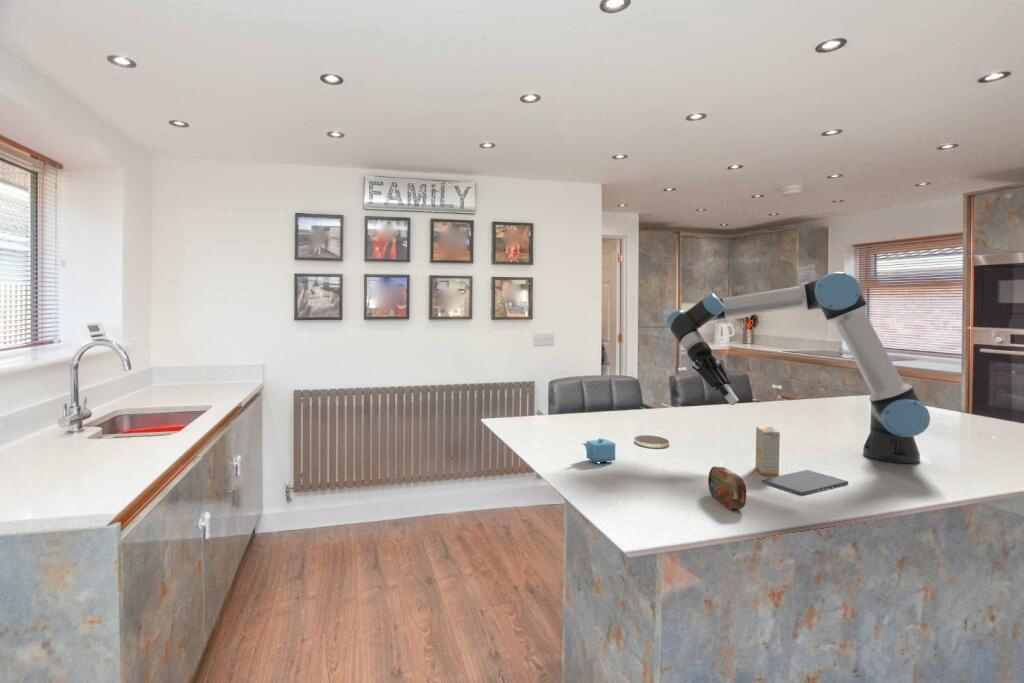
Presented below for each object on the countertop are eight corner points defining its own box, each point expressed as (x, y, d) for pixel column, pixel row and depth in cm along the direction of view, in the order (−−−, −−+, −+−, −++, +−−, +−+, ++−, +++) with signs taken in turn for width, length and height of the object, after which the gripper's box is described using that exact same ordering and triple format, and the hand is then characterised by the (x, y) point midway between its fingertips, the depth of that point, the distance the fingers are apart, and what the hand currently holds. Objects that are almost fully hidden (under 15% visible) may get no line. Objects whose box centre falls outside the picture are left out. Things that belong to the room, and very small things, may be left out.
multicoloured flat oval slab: (706, 493, 138) (707, 462, 138) (718, 493, 138) (718, 461, 138) (735, 515, 123) (736, 480, 123) (748, 514, 123) (749, 479, 123)
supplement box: (779, 476, 152) (780, 432, 151) (762, 475, 153) (763, 431, 152) (771, 468, 160) (772, 426, 159) (754, 467, 161) (755, 425, 160)
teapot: (586, 466, 163) (586, 442, 162) (577, 461, 169) (577, 438, 168) (619, 462, 167) (619, 439, 167) (609, 457, 173) (609, 435, 172)
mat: (807, 472, 156) (807, 469, 155) (848, 484, 145) (848, 481, 145) (761, 482, 147) (761, 479, 147) (801, 495, 136) (801, 492, 136)
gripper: (703, 354, 186) (741, 407, 172) (676, 355, 180) (713, 411, 166) (716, 340, 181) (756, 394, 167) (688, 341, 175) (727, 397, 161)
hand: (734, 402), depth 166 cm, fingers closed
